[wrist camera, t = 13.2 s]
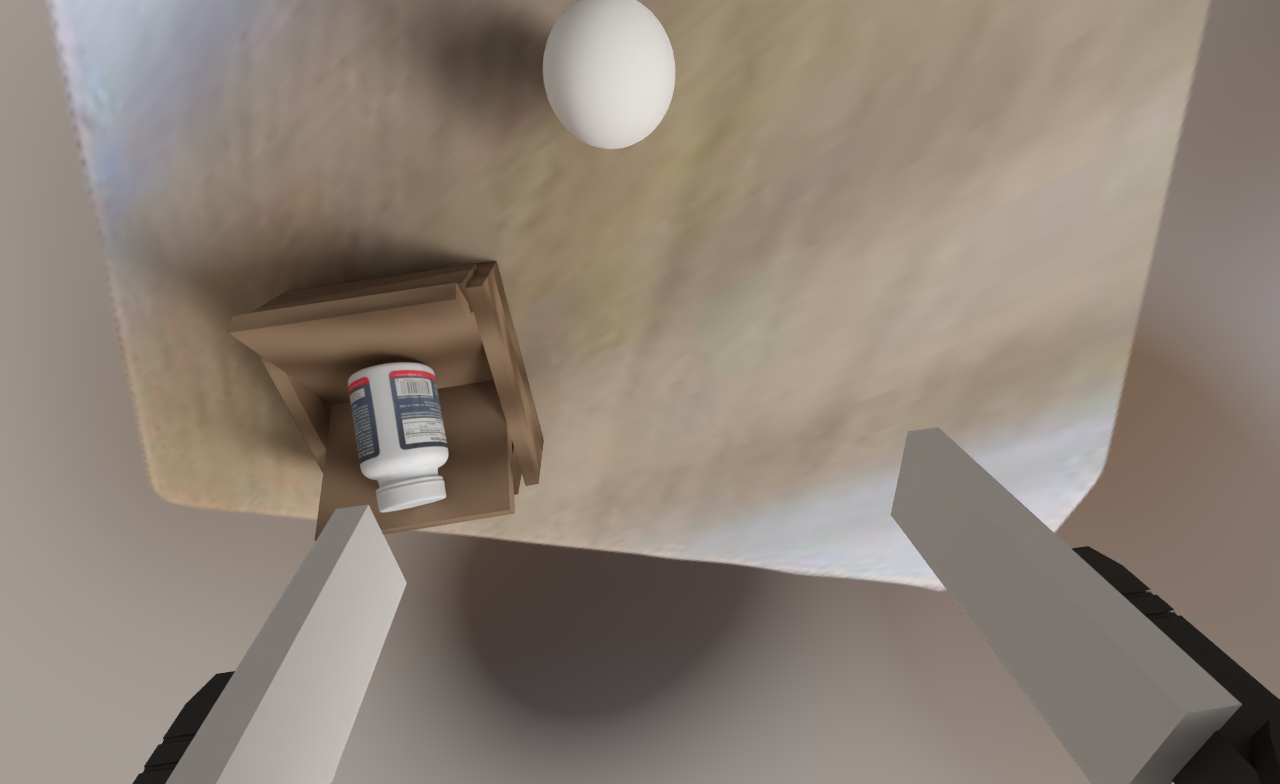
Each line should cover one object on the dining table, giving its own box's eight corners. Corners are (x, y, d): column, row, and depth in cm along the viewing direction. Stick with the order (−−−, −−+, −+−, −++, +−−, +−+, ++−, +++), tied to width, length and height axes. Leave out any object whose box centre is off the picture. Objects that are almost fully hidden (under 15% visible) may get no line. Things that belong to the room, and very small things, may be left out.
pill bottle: (367, 390, 36) (385, 515, 34) (331, 371, 31) (350, 516, 29) (443, 375, 37) (464, 496, 35) (420, 354, 32) (443, 494, 30)
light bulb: (637, 2, 30) (661, -50, 21) (668, 121, 34) (702, 124, 24) (534, 42, 31) (511, 10, 21) (574, 156, 34) (571, 173, 24)
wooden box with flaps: (284, 279, 36) (172, 341, 26) (493, 249, 36) (460, 298, 27) (373, 467, 44) (314, 566, 35) (543, 440, 45) (532, 531, 35)
